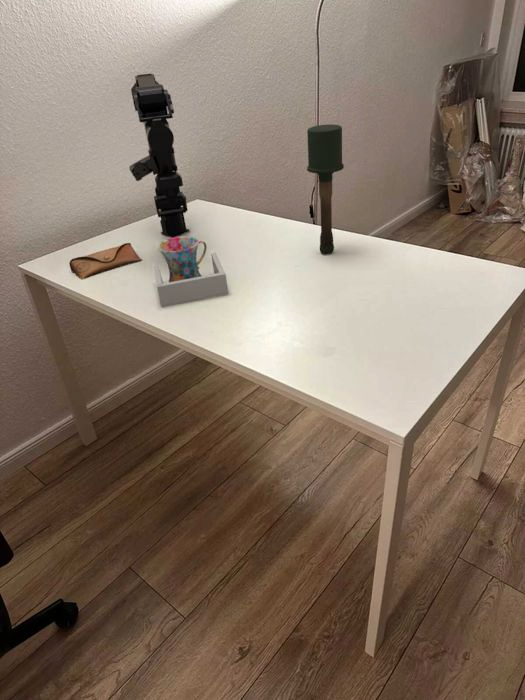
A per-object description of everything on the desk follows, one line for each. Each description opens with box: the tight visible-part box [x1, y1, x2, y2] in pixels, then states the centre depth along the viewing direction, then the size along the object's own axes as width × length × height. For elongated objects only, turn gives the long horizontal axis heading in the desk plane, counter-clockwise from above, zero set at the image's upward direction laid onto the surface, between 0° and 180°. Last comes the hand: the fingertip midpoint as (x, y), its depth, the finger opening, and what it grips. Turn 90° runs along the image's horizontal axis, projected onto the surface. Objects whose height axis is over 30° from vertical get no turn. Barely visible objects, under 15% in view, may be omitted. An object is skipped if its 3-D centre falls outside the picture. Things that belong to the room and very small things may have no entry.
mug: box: [157, 235, 207, 283], centre depth 116 cm, size 12×9×11 cm
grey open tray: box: [153, 252, 229, 308], centre depth 115 cm, size 14×15×5 cm
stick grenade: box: [306, 123, 345, 255], centre depth 118 cm, size 8×9×30 cm
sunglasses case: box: [69, 242, 143, 281], centre depth 133 cm, size 18×7×7 cm
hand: (172, 207), depth 127 cm, fingers closed
